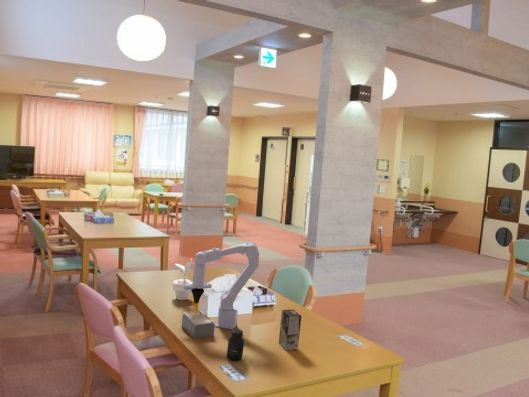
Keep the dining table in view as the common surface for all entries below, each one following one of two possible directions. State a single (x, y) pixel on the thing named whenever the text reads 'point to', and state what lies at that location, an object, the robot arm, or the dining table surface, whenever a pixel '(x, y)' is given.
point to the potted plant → (182, 282)
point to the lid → (201, 319)
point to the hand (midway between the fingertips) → (196, 303)
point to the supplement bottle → (235, 345)
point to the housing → (197, 326)
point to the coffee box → (289, 329)
